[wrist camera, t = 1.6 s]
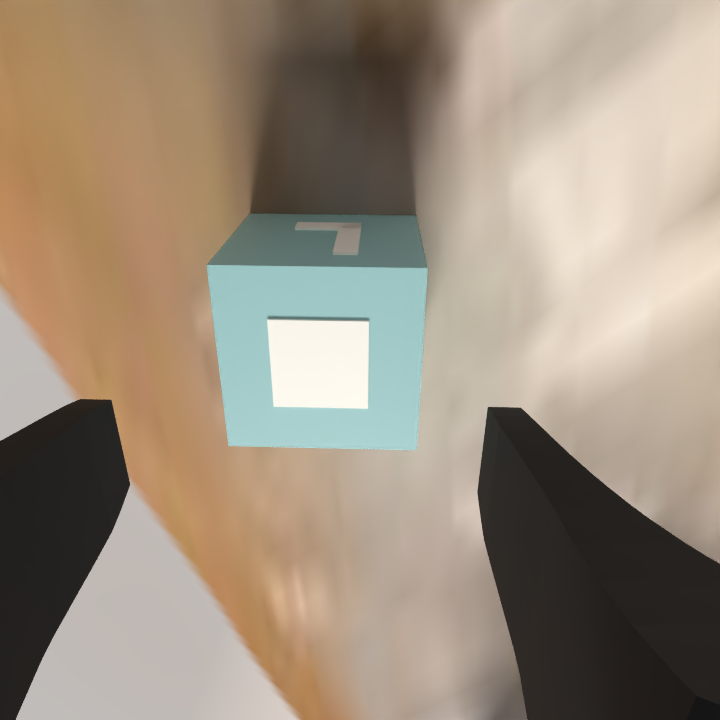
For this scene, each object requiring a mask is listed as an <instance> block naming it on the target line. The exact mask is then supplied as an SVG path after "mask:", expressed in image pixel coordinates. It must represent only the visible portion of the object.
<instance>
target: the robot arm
mask: <svg viewBox="0 0 720 720" xmlns="http://www.w3.org/2000/svg"><path fill="white" fill-rule="evenodd" d="M129 486H130V482H129V477H128V473H127V468H126V464H125V459H124V455H123V450H122V446H121V441H120V437H119V432H118V428H117V423H116V419H115V414H114V410H113V405H112V401H111V400H93V399H80V400H77V401H75V402H73V403H70V404H68V405H66V406H64V407H62V408H60V409H58V410H56V411H54V412H52V413H50V414H49V415H47V416H45V417H43V418H41V419H39V420H38V421H36V422H34V423H32V424H30V425H29V426H27V427H25V428H23V429H21V430H20V431H18V432H16V433H14V434H12V435H10V436H9V437H7V438H5V439H4V440H1V441H0V720H16V717H17V715H18V713H19V710H20V708H21V706H22V703H23V701H24V699H25V697H26V694H27V692H28V690H29V687H30V685H31V683H32V681H33V678H34V676H35V674H36V671H37V669H38V667H39V665H40V662H41V660H42V658H43V656H44V654H45V652H46V650H47V648H48V646H49V644H50V642H51V640H52V638H53V636H54V634H55V633H56V631H57V629H58V627H59V626H60V624H61V622H62V620H63V618H64V617H65V615H66V613H67V611H68V610H69V608H70V606H71V604H72V603H73V601H74V599H75V597H76V595H77V594H78V592H79V590H80V588H81V587H82V585H83V583H84V581H85V580H86V578H87V576H88V574H89V572H90V571H91V569H92V567H93V565H94V563H95V562H96V560H97V558H98V556H99V554H100V552H101V551H102V549H103V547H104V545H105V543H106V542H107V540H108V538H109V536H110V534H111V532H112V530H113V528H114V526H115V523H116V521H117V518H118V516H119V513H120V511H121V508H122V505H123V503H124V500H125V497H126V494H127V492H128V489H129ZM478 500H479V508H480V515H481V522H482V529H483V536H484V541H485V545H486V549H487V553H488V556H489V560H490V564H491V567H492V571H493V575H494V578H495V582H496V586H497V589H498V593H499V597H500V600H501V604H502V607H503V611H504V615H505V618H506V622H507V625H508V629H509V633H510V636H511V640H512V644H513V647H514V651H515V656H516V660H517V664H518V669H519V673H520V678H521V684H522V690H523V696H524V701H525V707H526V713H527V719H528V720H720V564H719V563H717V562H715V561H714V560H712V559H710V558H709V557H707V556H705V555H704V554H702V553H700V552H699V551H697V550H696V549H694V548H692V547H691V546H689V545H687V544H686V543H684V542H683V541H681V540H680V539H678V538H677V537H675V536H674V535H672V534H671V533H669V532H668V531H667V530H665V529H664V528H662V527H661V526H659V525H658V524H656V523H655V522H653V521H652V520H650V519H649V518H647V517H646V516H645V515H643V514H642V513H641V512H639V511H638V510H637V509H635V508H634V507H632V506H631V505H630V504H629V503H627V502H626V501H625V500H624V499H622V498H621V497H620V496H618V495H617V494H616V493H615V492H613V491H612V490H611V489H610V488H608V487H607V486H606V485H605V484H603V483H602V482H601V481H600V480H599V479H597V478H596V477H595V476H594V475H593V474H592V473H590V472H589V471H588V470H587V469H586V468H585V467H584V466H582V465H581V464H580V463H579V462H578V461H577V460H576V459H575V458H573V457H572V456H571V455H570V454H569V453H568V452H567V451H566V450H565V449H564V448H563V447H562V446H560V445H559V444H558V443H557V442H556V441H555V440H554V439H553V438H552V437H551V436H550V435H549V434H548V433H547V432H546V431H545V430H544V429H543V428H542V427H541V426H540V425H538V424H537V423H536V422H535V421H534V420H533V419H532V418H531V417H530V416H529V415H528V414H527V413H526V412H525V411H524V410H523V409H521V408H509V407H488V411H487V419H486V427H485V435H484V443H483V452H482V460H481V468H480V476H479V484H478Z"/></svg>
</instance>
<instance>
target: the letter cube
mask: <svg viewBox="0 0 720 720" xmlns="http://www.w3.org/2000/svg"><path fill="white" fill-rule="evenodd" d="M427 271H428V267H427V263H426V258H425V254H424V249H423V245H422V240H421V235H420V231H419V226H418V222H417V217H416V215H332V214H249V215H248V216H247V218H246V219H245V220H244V221H243V222H242V223H241V225H240V226H239V227H238V228H237V229H236V231H235V232H234V233H233V234H232V235H231V237H230V238H229V239H228V240H227V241H226V243H225V244H224V245H223V246H222V247H221V249H220V250H219V251H218V252H217V253H216V254H215V256H214V257H213V258H212V259H211V260H210V262H209V263H208V264H207V272H208V280H209V289H210V297H211V305H212V314H213V322H214V330H215V338H216V347H217V355H218V363H219V371H220V380H221V388H222V396H223V405H224V413H225V421H226V429H227V438H228V446H252V447H296V448H341V449H386V450H417V439H418V423H419V406H420V389H421V372H422V355H423V338H424V321H425V304H426V287H427Z"/></svg>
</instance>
